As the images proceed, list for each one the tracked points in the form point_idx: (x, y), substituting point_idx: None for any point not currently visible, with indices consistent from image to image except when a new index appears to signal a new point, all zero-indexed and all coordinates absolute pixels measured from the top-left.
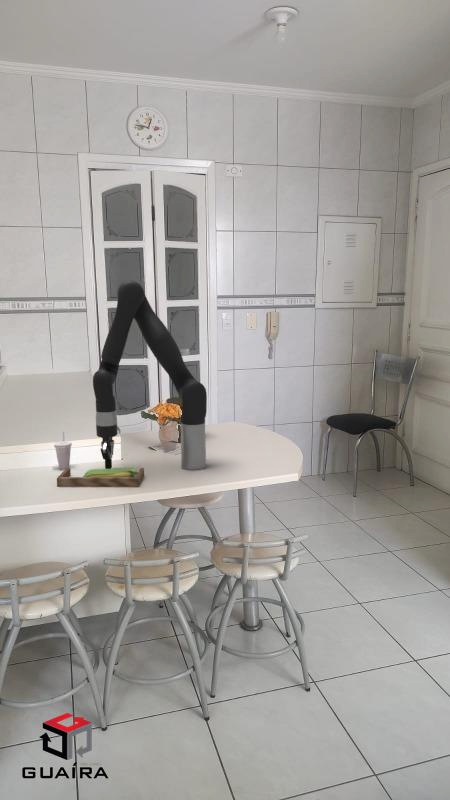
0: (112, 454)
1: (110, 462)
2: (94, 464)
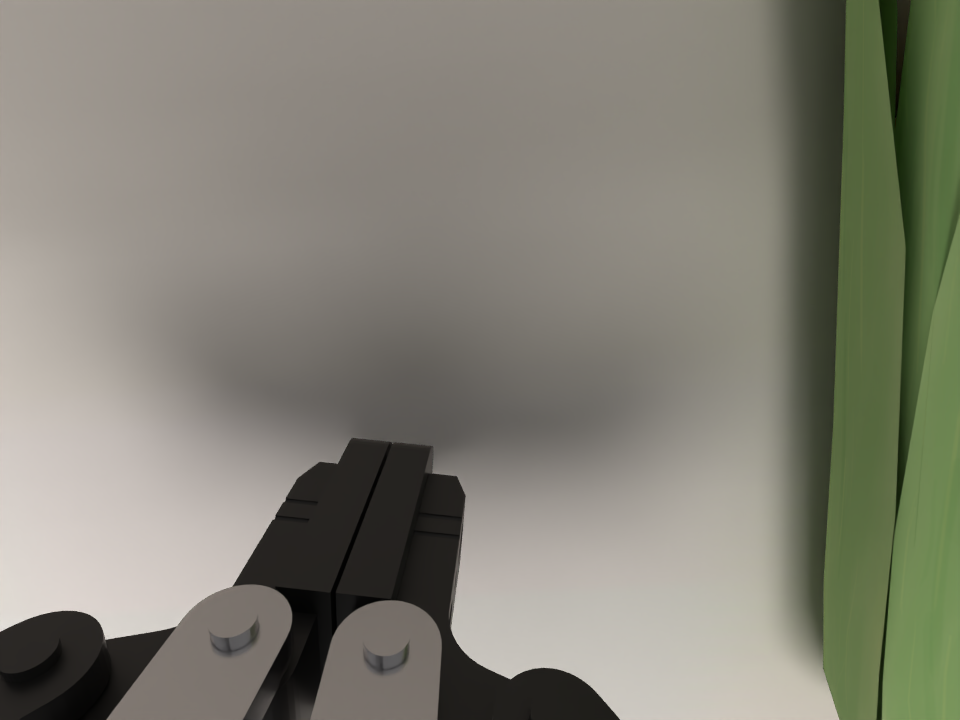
0: (99, 649)
1: (404, 545)
2: None
